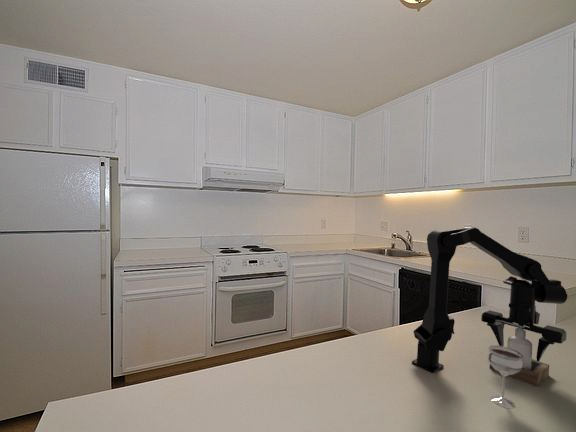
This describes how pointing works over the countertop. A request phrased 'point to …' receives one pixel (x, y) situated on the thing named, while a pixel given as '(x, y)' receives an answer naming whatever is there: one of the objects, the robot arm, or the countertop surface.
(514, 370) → the wineglass
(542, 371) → the rubber-lined collar
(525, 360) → the eye dropper bottle
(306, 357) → the countertop surface
